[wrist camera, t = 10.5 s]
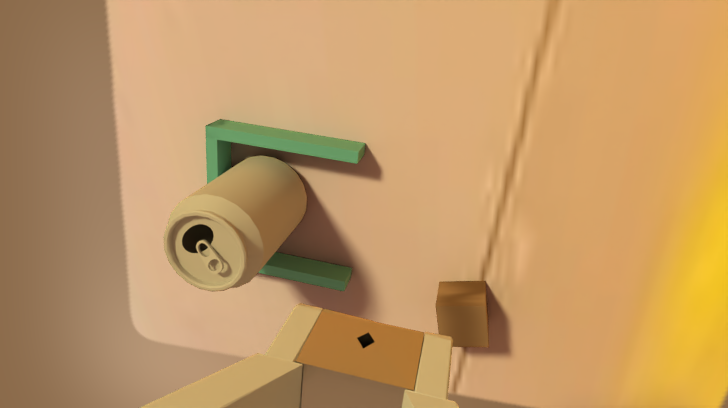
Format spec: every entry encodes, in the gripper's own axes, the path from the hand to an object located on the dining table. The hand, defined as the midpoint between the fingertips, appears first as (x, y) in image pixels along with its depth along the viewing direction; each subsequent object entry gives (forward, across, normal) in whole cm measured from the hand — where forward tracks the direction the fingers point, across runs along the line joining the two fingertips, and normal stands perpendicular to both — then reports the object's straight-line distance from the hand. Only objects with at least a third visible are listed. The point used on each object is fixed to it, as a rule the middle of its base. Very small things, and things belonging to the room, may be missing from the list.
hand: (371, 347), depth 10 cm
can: (+31, +15, +12) cm, 36 cm away
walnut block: (+31, -4, +18) cm, 36 cm away
